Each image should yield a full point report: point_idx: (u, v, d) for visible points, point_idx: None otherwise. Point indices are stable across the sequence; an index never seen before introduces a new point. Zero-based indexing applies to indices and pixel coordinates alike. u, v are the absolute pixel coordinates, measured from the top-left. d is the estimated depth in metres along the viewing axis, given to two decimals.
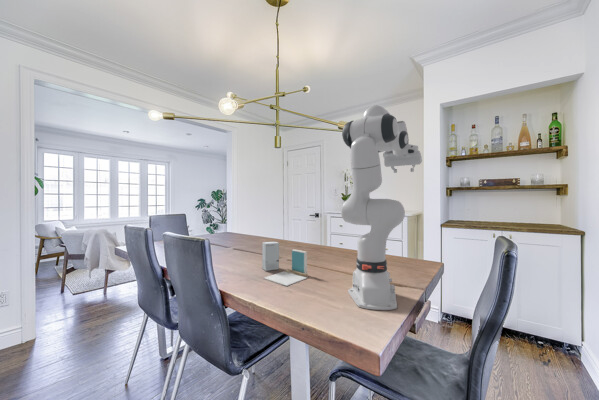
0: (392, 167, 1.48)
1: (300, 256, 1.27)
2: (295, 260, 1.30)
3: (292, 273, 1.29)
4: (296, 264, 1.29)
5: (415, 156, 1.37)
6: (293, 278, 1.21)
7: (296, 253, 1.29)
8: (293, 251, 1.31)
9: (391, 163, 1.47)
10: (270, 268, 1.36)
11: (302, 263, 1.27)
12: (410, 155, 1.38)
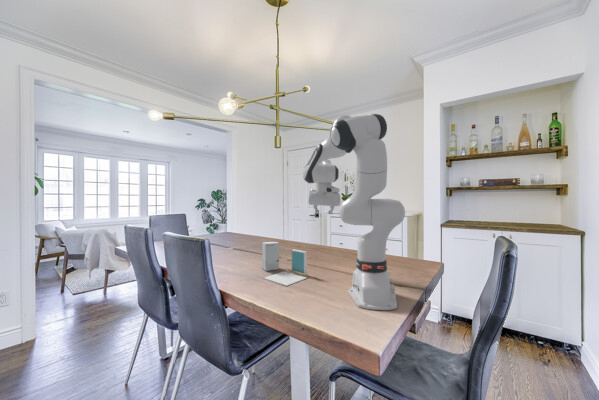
0: (314, 206, 1.44)
1: (300, 256, 1.27)
2: (295, 260, 1.30)
3: (292, 273, 1.29)
4: (296, 264, 1.29)
5: (333, 196, 1.34)
6: (293, 278, 1.21)
7: (296, 253, 1.29)
8: (293, 251, 1.31)
9: (313, 202, 1.43)
10: (270, 268, 1.36)
11: (302, 263, 1.27)
12: (329, 194, 1.35)
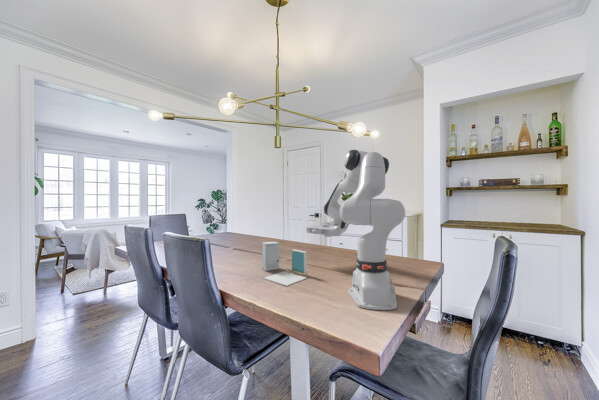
0: (315, 229, 1.42)
1: (300, 256, 1.27)
2: (295, 260, 1.30)
3: (292, 273, 1.29)
4: (296, 264, 1.29)
5: (335, 227, 1.40)
6: (293, 278, 1.21)
7: (296, 253, 1.29)
8: (293, 251, 1.31)
9: (313, 226, 1.47)
10: (270, 268, 1.36)
11: (302, 263, 1.27)
12: (332, 226, 1.43)
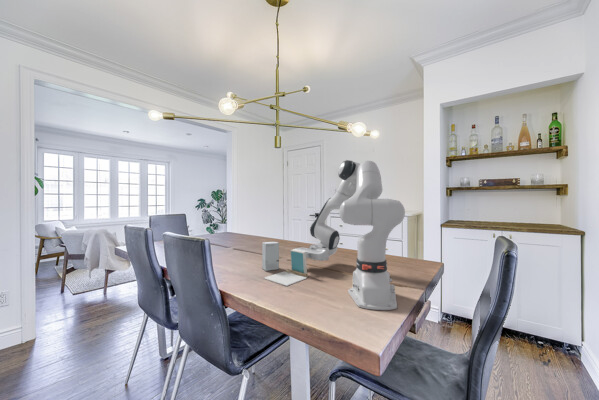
0: None
1: (299, 256, 1.27)
2: (294, 260, 1.30)
3: (292, 273, 1.29)
4: (296, 264, 1.29)
5: (322, 251, 1.32)
6: (293, 278, 1.21)
7: (295, 253, 1.29)
8: (292, 251, 1.30)
9: (300, 249, 1.38)
10: (270, 268, 1.36)
11: (301, 263, 1.26)
12: (320, 250, 1.34)
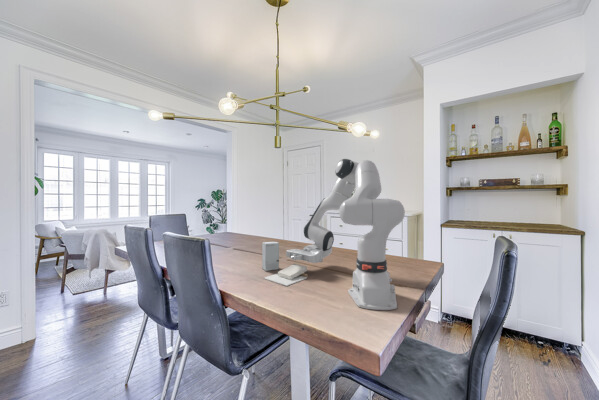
0: (295, 254, 1.30)
1: None
2: None
3: None
4: None
5: (316, 253, 1.28)
6: (293, 278, 1.21)
7: None
8: None
9: (293, 251, 1.34)
10: (270, 268, 1.36)
11: None
12: (313, 251, 1.30)
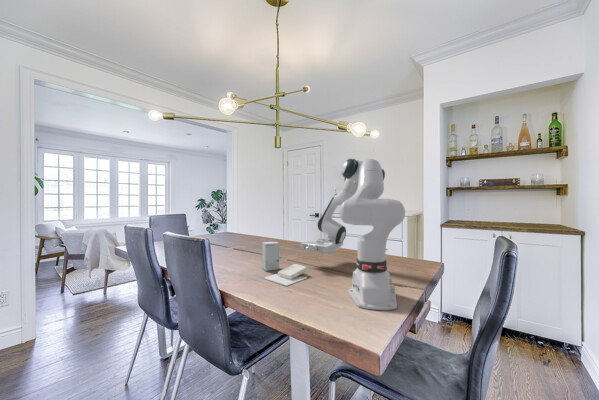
0: (309, 245, 1.38)
1: None
2: None
3: None
4: None
5: (329, 244, 1.36)
6: (293, 278, 1.21)
7: None
8: None
9: (307, 243, 1.43)
10: (270, 268, 1.36)
11: None
12: (327, 243, 1.39)
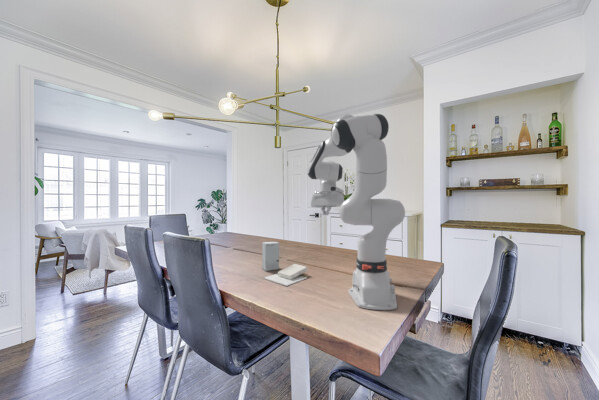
0: (322, 207, 1.37)
1: None
2: None
3: None
4: None
5: (336, 195, 1.31)
6: (293, 278, 1.21)
7: None
8: None
9: (316, 203, 1.39)
10: (270, 268, 1.36)
11: None
12: (332, 194, 1.33)
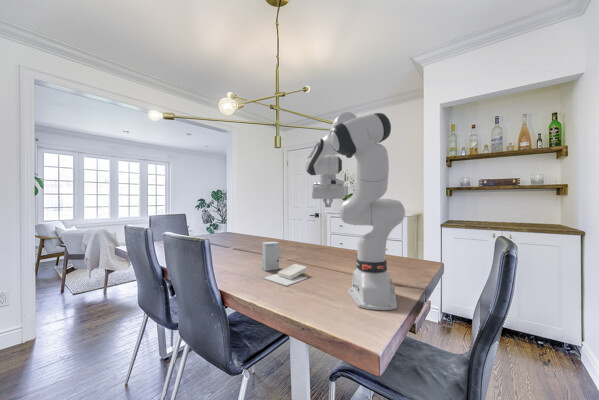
0: (324, 200, 1.37)
1: None
2: None
3: None
4: None
5: (337, 189, 1.29)
6: (293, 278, 1.21)
7: None
8: None
9: (317, 195, 1.39)
10: (270, 268, 1.36)
11: None
12: (333, 187, 1.31)
